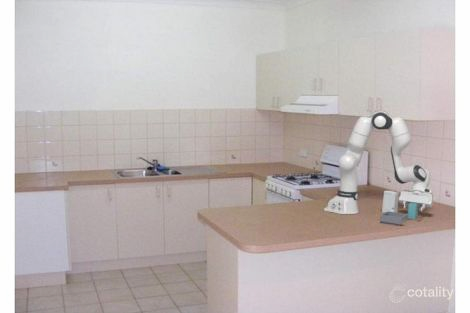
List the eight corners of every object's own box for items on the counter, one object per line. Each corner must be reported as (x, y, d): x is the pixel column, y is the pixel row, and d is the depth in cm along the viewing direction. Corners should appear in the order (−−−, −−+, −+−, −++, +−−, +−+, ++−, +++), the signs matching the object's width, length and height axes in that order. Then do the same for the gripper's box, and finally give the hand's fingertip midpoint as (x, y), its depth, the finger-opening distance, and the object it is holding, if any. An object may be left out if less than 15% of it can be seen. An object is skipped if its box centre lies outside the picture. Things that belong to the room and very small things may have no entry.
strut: (407, 218, 324) (408, 203, 323) (410, 216, 327) (410, 202, 326) (414, 219, 321) (415, 204, 320) (417, 218, 325) (418, 203, 324)
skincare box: (381, 213, 341) (382, 191, 339) (385, 212, 346) (386, 190, 344) (394, 216, 336) (395, 193, 334) (398, 214, 340) (399, 191, 339)
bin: (379, 223, 317) (380, 214, 316) (387, 219, 327) (387, 211, 326) (400, 226, 309) (401, 218, 309) (407, 222, 319) (408, 214, 319)
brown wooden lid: (399, 220, 323) (399, 213, 323) (405, 217, 333) (406, 209, 332) (419, 223, 316) (419, 215, 316) (425, 220, 326) (425, 212, 325)
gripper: (401, 186, 334) (394, 204, 327) (434, 190, 322) (428, 209, 315) (403, 192, 338) (396, 210, 331) (435, 196, 326) (430, 215, 319)
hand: (412, 209), depth 323 cm, fingers open, 8 cm apart
